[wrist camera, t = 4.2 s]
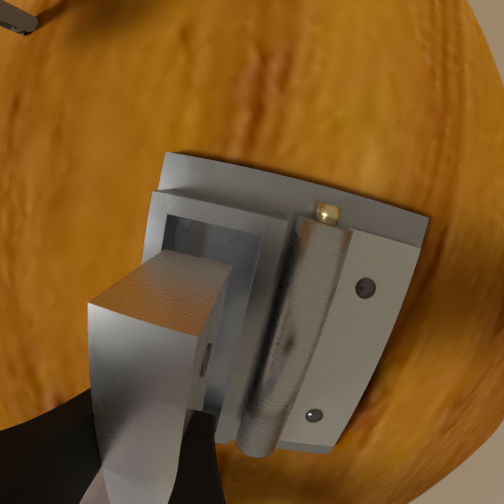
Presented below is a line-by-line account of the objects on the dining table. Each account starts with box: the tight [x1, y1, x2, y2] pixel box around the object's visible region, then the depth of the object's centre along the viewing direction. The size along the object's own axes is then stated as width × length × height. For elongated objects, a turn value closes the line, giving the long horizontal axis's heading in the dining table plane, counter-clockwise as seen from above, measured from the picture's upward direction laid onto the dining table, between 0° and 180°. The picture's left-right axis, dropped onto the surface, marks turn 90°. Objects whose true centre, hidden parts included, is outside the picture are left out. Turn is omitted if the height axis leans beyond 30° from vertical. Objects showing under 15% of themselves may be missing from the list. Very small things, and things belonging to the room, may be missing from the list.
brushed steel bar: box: [88, 249, 232, 504], centre depth 9 cm, size 9×2×5 cm, turn 167°
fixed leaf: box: [142, 152, 429, 458], centre depth 15 cm, size 16×13×3 cm
